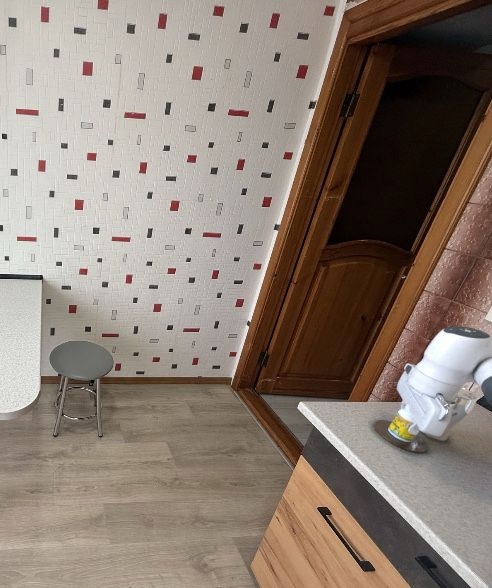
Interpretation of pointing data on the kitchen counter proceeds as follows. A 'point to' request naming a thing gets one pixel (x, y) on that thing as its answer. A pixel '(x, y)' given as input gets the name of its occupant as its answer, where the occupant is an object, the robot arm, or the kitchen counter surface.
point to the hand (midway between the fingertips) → (406, 424)
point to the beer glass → (458, 410)
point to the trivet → (413, 446)
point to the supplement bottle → (402, 425)
